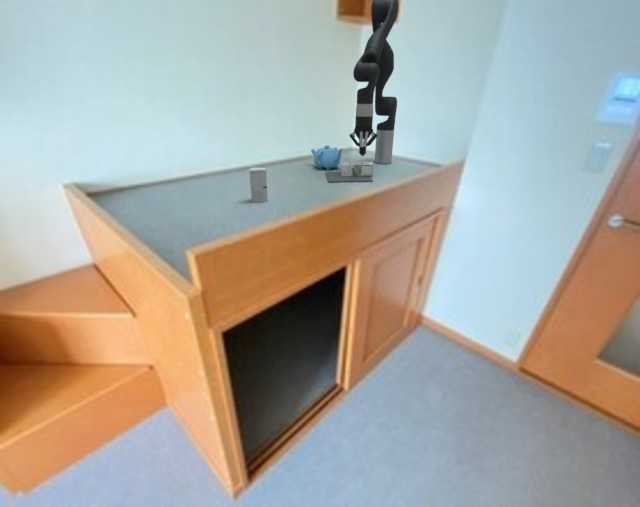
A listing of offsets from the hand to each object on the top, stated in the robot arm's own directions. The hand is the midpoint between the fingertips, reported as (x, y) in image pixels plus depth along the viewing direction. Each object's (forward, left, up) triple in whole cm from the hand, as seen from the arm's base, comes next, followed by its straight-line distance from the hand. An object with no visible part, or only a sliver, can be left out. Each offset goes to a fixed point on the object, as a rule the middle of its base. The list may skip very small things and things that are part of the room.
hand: (362, 155), depth 161 cm
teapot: (-21, -15, -10) cm, 27 cm away
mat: (0, -6, -10) cm, 12 cm away
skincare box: (+33, -44, -10) cm, 56 cm away
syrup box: (0, +5, -7) cm, 8 cm away
